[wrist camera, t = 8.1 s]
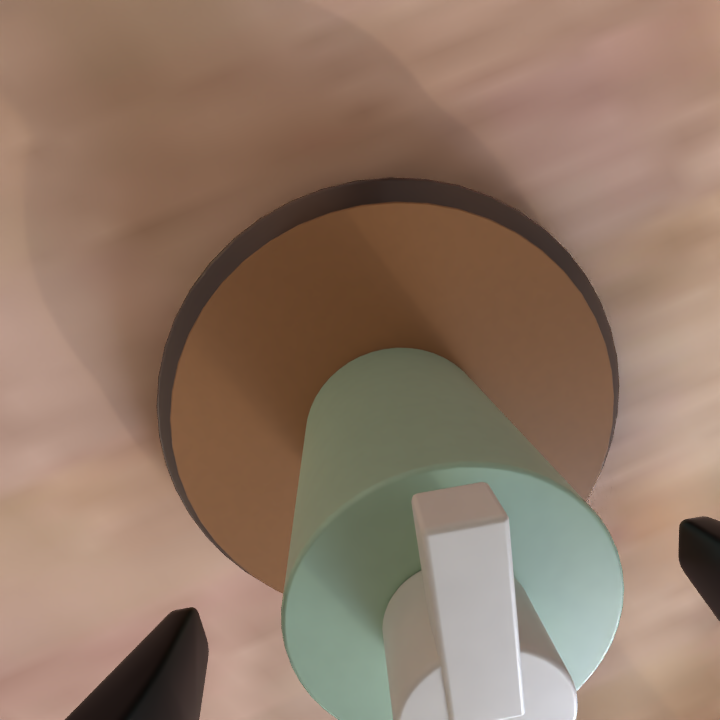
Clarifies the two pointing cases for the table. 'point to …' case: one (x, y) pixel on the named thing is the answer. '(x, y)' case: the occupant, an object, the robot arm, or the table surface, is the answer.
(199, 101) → the table surface
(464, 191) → the base
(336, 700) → the soap bottle
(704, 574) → the robot arm
